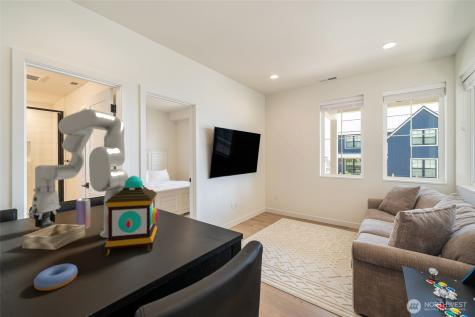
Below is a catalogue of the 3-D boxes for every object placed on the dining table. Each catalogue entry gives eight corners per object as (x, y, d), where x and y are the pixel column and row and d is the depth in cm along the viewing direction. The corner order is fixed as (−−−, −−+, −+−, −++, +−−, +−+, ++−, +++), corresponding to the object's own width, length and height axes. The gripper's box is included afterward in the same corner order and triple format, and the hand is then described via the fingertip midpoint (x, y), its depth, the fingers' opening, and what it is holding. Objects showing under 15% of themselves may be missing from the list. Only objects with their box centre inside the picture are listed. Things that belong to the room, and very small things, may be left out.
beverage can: (78, 230, 103) (78, 201, 103) (74, 227, 106) (74, 199, 106) (92, 227, 108) (91, 199, 107) (88, 224, 111) (88, 197, 111)
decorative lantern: (98, 258, 75) (98, 178, 75) (115, 237, 94) (115, 173, 94) (155, 252, 81) (155, 177, 80) (160, 233, 100) (160, 173, 99)
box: (84, 235, 97) (84, 225, 97) (55, 249, 82) (55, 237, 82) (56, 234, 98) (56, 224, 98) (22, 248, 83) (22, 236, 83)
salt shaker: (43, 232, 100) (43, 208, 99) (34, 231, 101) (34, 207, 101) (56, 228, 105) (56, 205, 105) (47, 227, 107) (47, 205, 106)
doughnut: (28, 297, 54) (31, 279, 55) (36, 280, 62) (38, 265, 63) (75, 287, 60) (77, 271, 60) (77, 273, 68) (79, 259, 68)
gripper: (34, 192, 94) (34, 231, 94) (67, 186, 111) (67, 219, 111) (19, 192, 94) (19, 230, 95) (54, 186, 112) (55, 219, 112)
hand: (45, 224), depth 103 cm, fingers closed on salt shaker, 5 cm apart
